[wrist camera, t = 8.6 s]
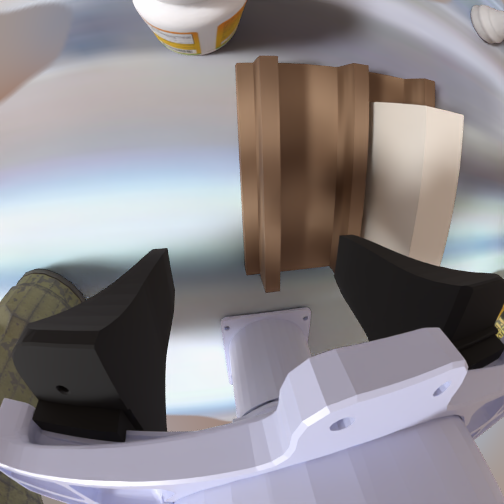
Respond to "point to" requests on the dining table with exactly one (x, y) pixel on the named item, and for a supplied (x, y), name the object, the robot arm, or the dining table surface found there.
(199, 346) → the dining table surface
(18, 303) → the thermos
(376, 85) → the rack
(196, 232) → the dining table surface
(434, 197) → the beige rectangular block
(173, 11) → the supplement bottle
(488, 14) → the rook chess piece
